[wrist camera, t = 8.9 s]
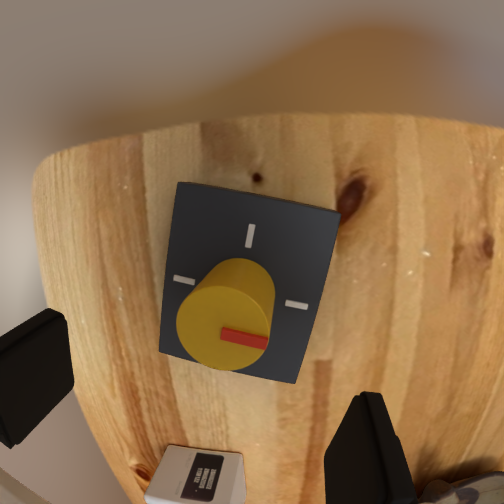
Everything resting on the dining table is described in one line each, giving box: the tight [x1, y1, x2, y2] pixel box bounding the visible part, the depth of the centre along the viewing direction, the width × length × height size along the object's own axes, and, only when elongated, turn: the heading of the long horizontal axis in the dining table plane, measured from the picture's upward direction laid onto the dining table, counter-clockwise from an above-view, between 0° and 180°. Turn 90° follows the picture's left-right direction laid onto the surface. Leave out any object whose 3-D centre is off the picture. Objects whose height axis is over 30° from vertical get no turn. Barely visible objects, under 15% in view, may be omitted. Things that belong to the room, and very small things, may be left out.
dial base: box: [159, 182, 341, 384], centre depth 20 cm, size 12×10×3 cm
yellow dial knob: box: [176, 258, 275, 370], centre depth 16 cm, size 4×4×6 cm
